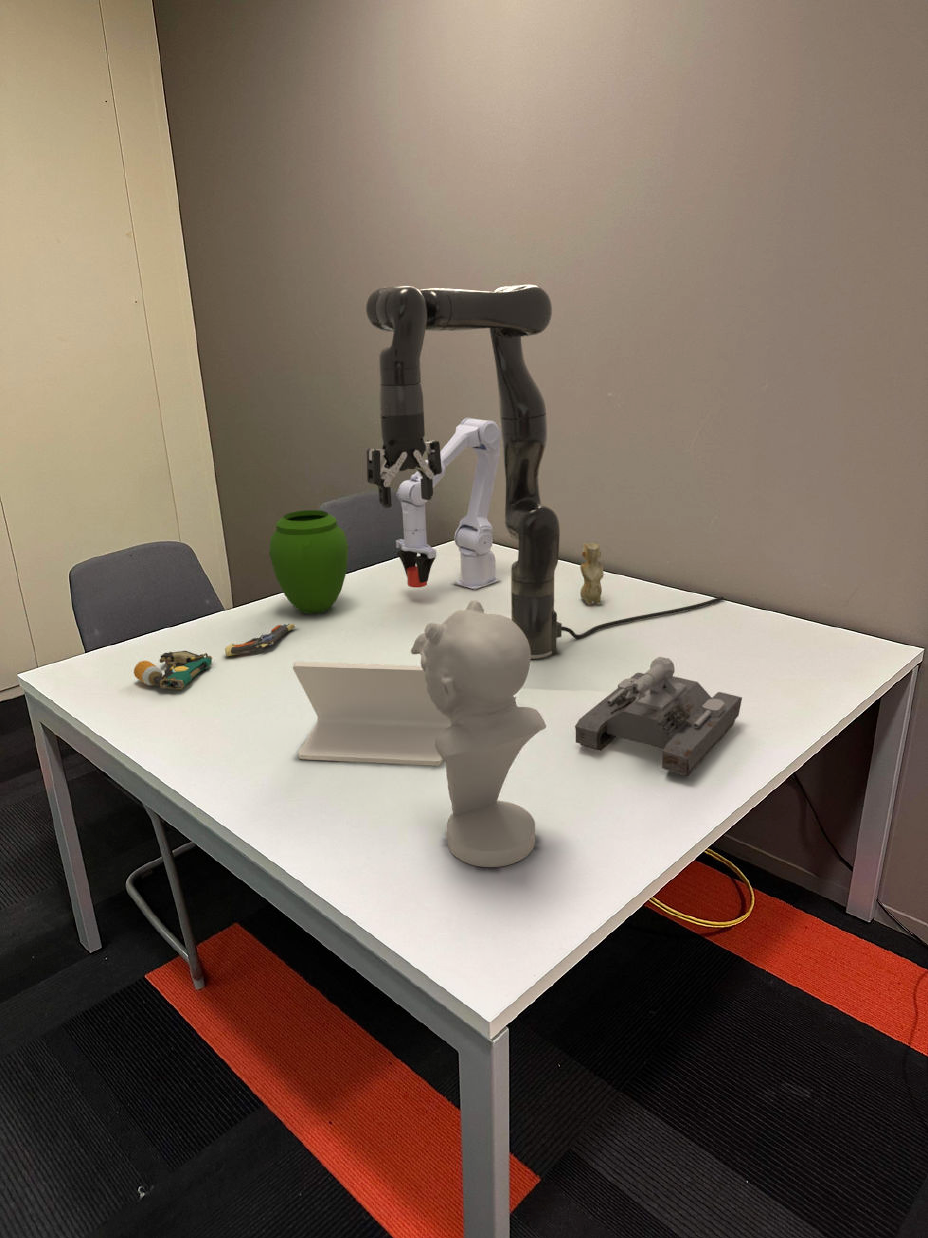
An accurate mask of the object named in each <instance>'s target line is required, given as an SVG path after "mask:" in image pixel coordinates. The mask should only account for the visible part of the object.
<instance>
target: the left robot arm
mask: <svg viewBox="0 0 928 1238" xmlns="http://www.w3.org/2000/svg"><path fill="white" fill-rule="evenodd" d="M501 438H502V435H501V428H500V427H499V425H498V424H497V422H495V421H494V420H485V419H478V418H473V417H465V418H464V419H463V420H462V421H461V422H460V424H458V425H457V426H456V427H455V432H454V434H453V435H452V436H451V438H450V439H449V440H448V442H447V443H446V444H445V445H444V446H443V448H442V449H440V454H441V466H442V472H441V474H437V475H435V476H434V478H433V488H435V486H436V485H438V484H439V482H440V481H441V480H442V479H443V478H444V477H445V475H446V467H448V465H450V464H451V463H452V462H453V461H454V460H455V459H456V458H457V457H458V456H459V455H460V454H461V453H462V452H463V451H464V450H465V449H467V448H471V449H473V451H474V453H475V454H476V456H477V462H476V466H475V472H474V478H473V483H472V488H471V492H470V499H469V502H468V507H467V508H468V509H467V514H466V515H465V516H463V518H461V519H460V521H459V523H458V527H457V529H456V530H455V533H454V536H453V542H454V544H455V546H456V547H458V552H460V553H459V555H460V579H459V580H457V581H454V585H457V586H461V587H464V588H468V589H471V590H478V589H481V588H483V587H486V586H489V585H492V584H495V583H497V582H499V579H497V575H496V574H497V573H496V572H497V569H496V557H495V554H494V552H493V551H492V550H491V549H492V546H493V544H494V543H493V542H494V540H493V539H494V538H493V529H494V528H493V525H492V524H491V523H490V521H489V520H488V518H489V511H490V507H491V503H492V496H493V491H494V487H495V483H496V482H495V481H496V477H497V472H498V468H499V467H498V466H499V463H500V462H499V461H500V456H501V448H500V447H501V446H500V443H501V442H500V441H501ZM424 460H425V461H426V463H427V464H428V459H424ZM421 478H423V477H422V476H421V475H420V474H419V472H418V471H417V470H416V472H415V473H414V474H411V476H410V478H409V479H407V480H404V481H402V482H401V483H400V484H399V486H398V489H397V491H396V497H397V499H398V501H400V505H401V506H400V507H401V508H402V524H403V525H402V526H403V527H402V529H403V538H400V539H395V547H396V549H400V550H398V551H397V552H396V555H397V557H398V558H399V560H400V561H401V564H402V567H403V569H404V573H405V576H407V569H408V568H409V567H413V566H417V569H418V575H419V581H420V582H421V583H423V582H427V583H428V581H429V577H430V573H431V569H432V566H433V563H434V562H435V560H436V559H437V549H435V548H433V547H432V546H430V545H429V544H428V540H427V517H426V516H427V515H426V503H428V501H429V500H424V499H422V497H421ZM418 554H419V555H418Z"/></svg>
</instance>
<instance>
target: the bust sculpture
mask: <svg viewBox="0 0 928 1238" xmlns="http://www.w3.org/2000/svg"><path fill="white" fill-rule="evenodd" d="M530 653H531V652H530V646H529V643H528V640H527V638H526V636H525V634H524V633H523V632H522V630H521V629H520V628H519V627H518V626H517V625H516V624H515V623H514V622H513V621H512V620H511V618H508V617H507V616H504V615H503V614H502V615H501V614H496V613H485V609H484V607H483V605H482V603H481V602H480V601H478V600H473V599H472V600H470V601H469V603H468V605H467V607H466V609H460V610H457V611H455V612H453V613H451V615H449V616H448V617H447V618H446V619H445V620H444V622H442V624H441V623H435V622H430V623H428V624H427V625H426V626H425V628H424V632H423V633H421V634H419V635H418V636H417V637H416V638H415V640H414V642H413V645H412V647H411V649H410V654H412V655H420V666H421V667H422V669H423V670H424V671H425V681H426V683H427V691H428V693H429V695H430V698H431V701H432V702H433V703H434V704H435V706H436V708H437V709H438V710H439V711H440V712H441V713H442V714H443V715H446V716H447V717H448V718H449V719H450V720H451V726H450V727H448V728H446V729H445V730H443V731H442V732H441V733H440V734H439V735H438V736H437V737H436V740H435V747H436V750H437V752H438V753H439V755H440V756H441V758H442V759H443V760H442V762H444V763H445V771H446V781H447V790H448V796H449V800H450V803H451V810H452V813H451V814H450V815H449V817H448V819H447V822H446V844H447V847H448V849H449V851H450V852H451V854H452V855H453V856H454V857H456V858H457V859H459V860H460V861H462V862H463V863H466V864H469V865H471V866H476V867H483V868H498V867H505V866H509V865H512V864H517V862H520V861H521V860H523V859H525V858H527V856H528V855H530V854H531V852H532V851H533V849H535V848H534V847H535V845H536V822H535V821H536V820H535V819H534V817H533V816H532V814H531V813H530V812H529V811H528V810H526V809H525V808H524V807H522V806H520V805H517V804H515V803H513V802H509V801H504V800H499V796H500V793H501V790H502V788H503V785H504V783H505V780H506V778H507V776H508V773H509V771H510V769H511V768H512V765H513V763H514V761H515V760H516V759H517V756H518V755H519V753H520V752H521V750H522V749H523V748H524V747H525V745H526V744H527V743H528V742H529V741H530V740H531V739H532V738H533V737H535V735H537V734H538V733H539V732H541V731H544V730H545V729H546V728H547V725H546V723H545V720H544V718H543V717H542V714H541V713H540V712H539V711H538V710H537V709H535V708H533V707H530V706H518V705H517V701H516V699H517V698H516V696H515V695H516V694H517V693H519V691H521V689H522V688H523V686H524V684H525V683H526V680H527V678H528V675H529V669H530V666H531V659H530V656H531V655H530Z"/></svg>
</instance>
